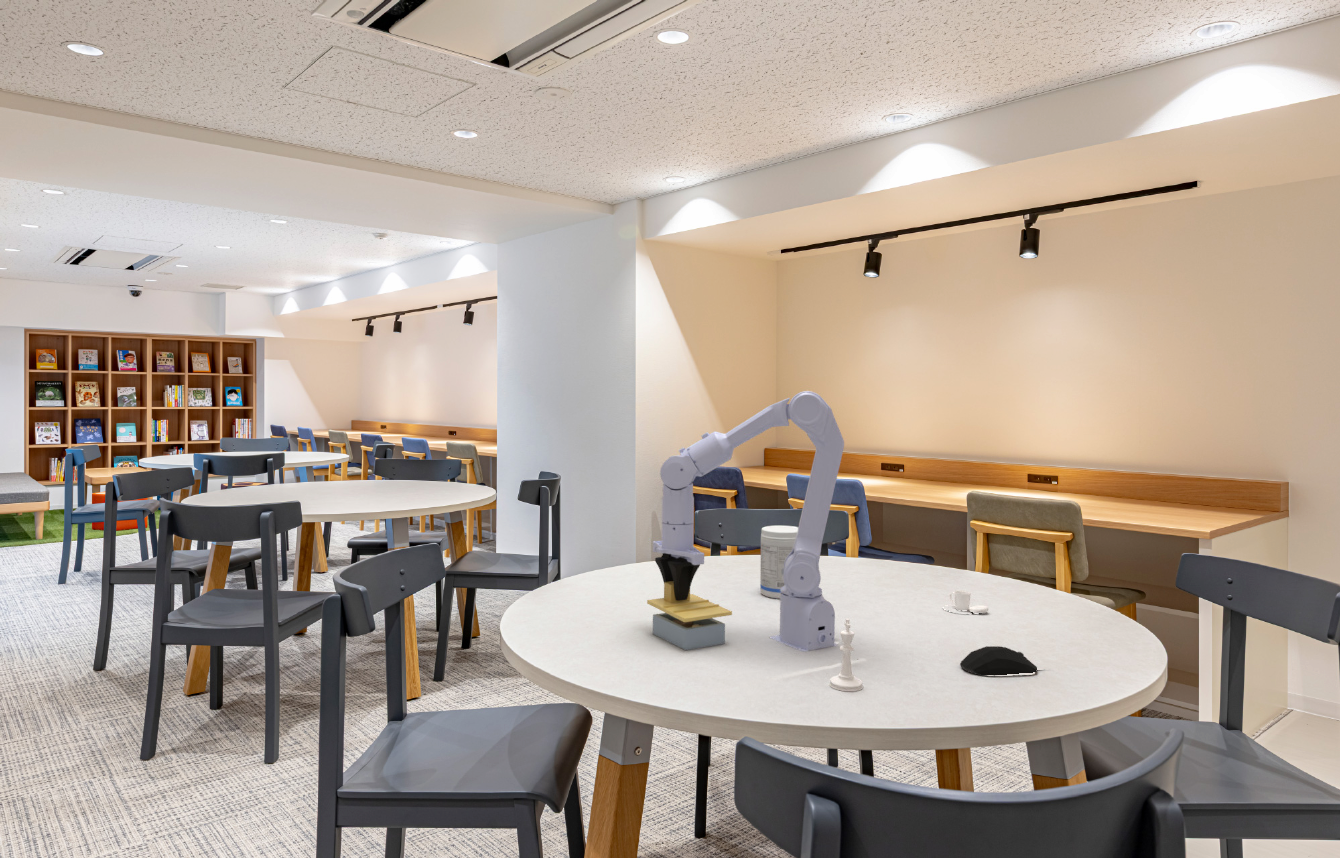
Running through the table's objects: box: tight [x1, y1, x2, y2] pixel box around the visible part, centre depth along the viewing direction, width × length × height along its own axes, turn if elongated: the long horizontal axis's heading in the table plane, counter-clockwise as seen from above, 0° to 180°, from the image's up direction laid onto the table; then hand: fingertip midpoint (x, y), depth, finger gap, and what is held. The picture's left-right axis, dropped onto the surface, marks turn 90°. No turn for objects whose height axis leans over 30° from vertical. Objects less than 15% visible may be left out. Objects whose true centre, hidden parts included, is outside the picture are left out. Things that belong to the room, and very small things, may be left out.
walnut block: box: [673, 619, 692, 628], centre depth 141 cm, size 3×3×3 cm
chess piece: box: [828, 618, 864, 693], centre depth 120 cm, size 5×5×10 cm
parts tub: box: [652, 612, 726, 651], centre depth 141 cm, size 11×8×4 cm
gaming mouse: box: [959, 645, 1038, 676], centre depth 128 cm, size 6×15×4 cm, turn 93°
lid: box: [646, 581, 733, 622], centre depth 141 cm, size 13×10×4 cm
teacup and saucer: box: [941, 590, 989, 614], centre depth 166 cm, size 9×8×4 cm
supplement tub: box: [759, 525, 799, 600], centre depth 177 cm, size 10×10×15 cm
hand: (676, 598), depth 144 cm, fingers closed on lid, 2 cm apart
